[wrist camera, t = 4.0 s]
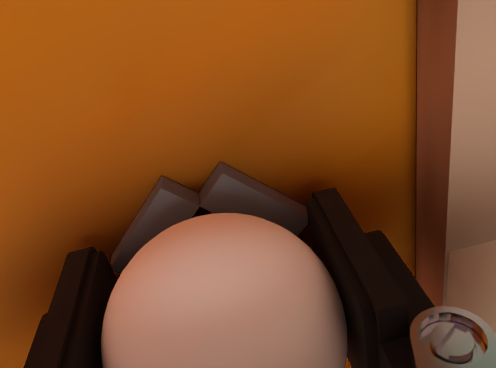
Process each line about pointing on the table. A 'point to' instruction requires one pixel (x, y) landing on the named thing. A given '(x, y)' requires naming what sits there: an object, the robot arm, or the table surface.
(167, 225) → the grey piece
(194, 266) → the ball
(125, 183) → the table surface
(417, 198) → the lane
